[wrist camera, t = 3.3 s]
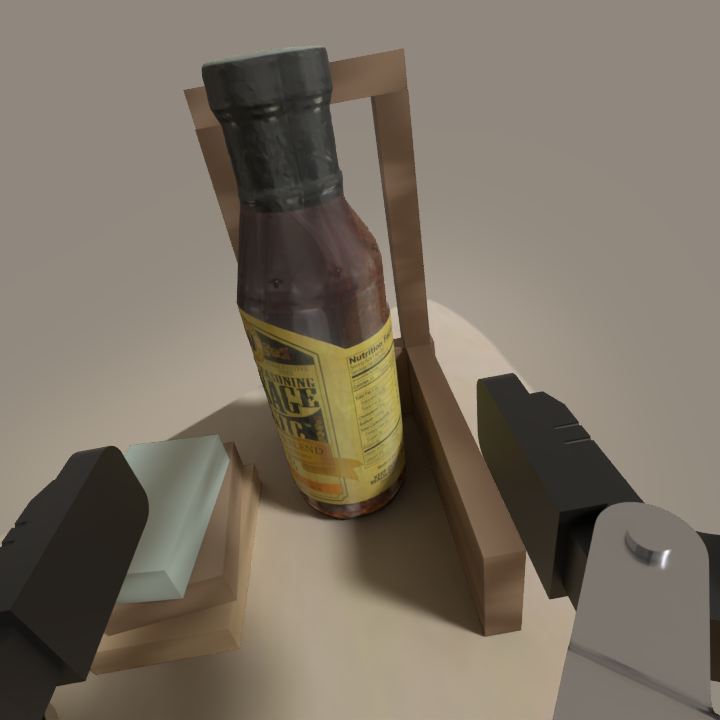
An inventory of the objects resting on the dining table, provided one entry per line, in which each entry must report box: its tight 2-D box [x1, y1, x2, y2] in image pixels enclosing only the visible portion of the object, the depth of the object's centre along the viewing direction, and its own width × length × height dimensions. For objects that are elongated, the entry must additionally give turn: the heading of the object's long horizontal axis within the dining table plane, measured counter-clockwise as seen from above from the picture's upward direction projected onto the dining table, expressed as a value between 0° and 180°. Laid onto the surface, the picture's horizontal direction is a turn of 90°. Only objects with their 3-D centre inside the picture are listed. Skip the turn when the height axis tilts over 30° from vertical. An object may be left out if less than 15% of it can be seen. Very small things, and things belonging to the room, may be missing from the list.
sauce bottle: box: [202, 46, 406, 519], centre depth 19 cm, size 7×6×20 cm
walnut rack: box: [184, 49, 526, 637], centre depth 18 cm, size 10×15×20 cm, turn 6°
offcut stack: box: [90, 434, 262, 675], centre depth 21 cm, size 6×9×5 cm
